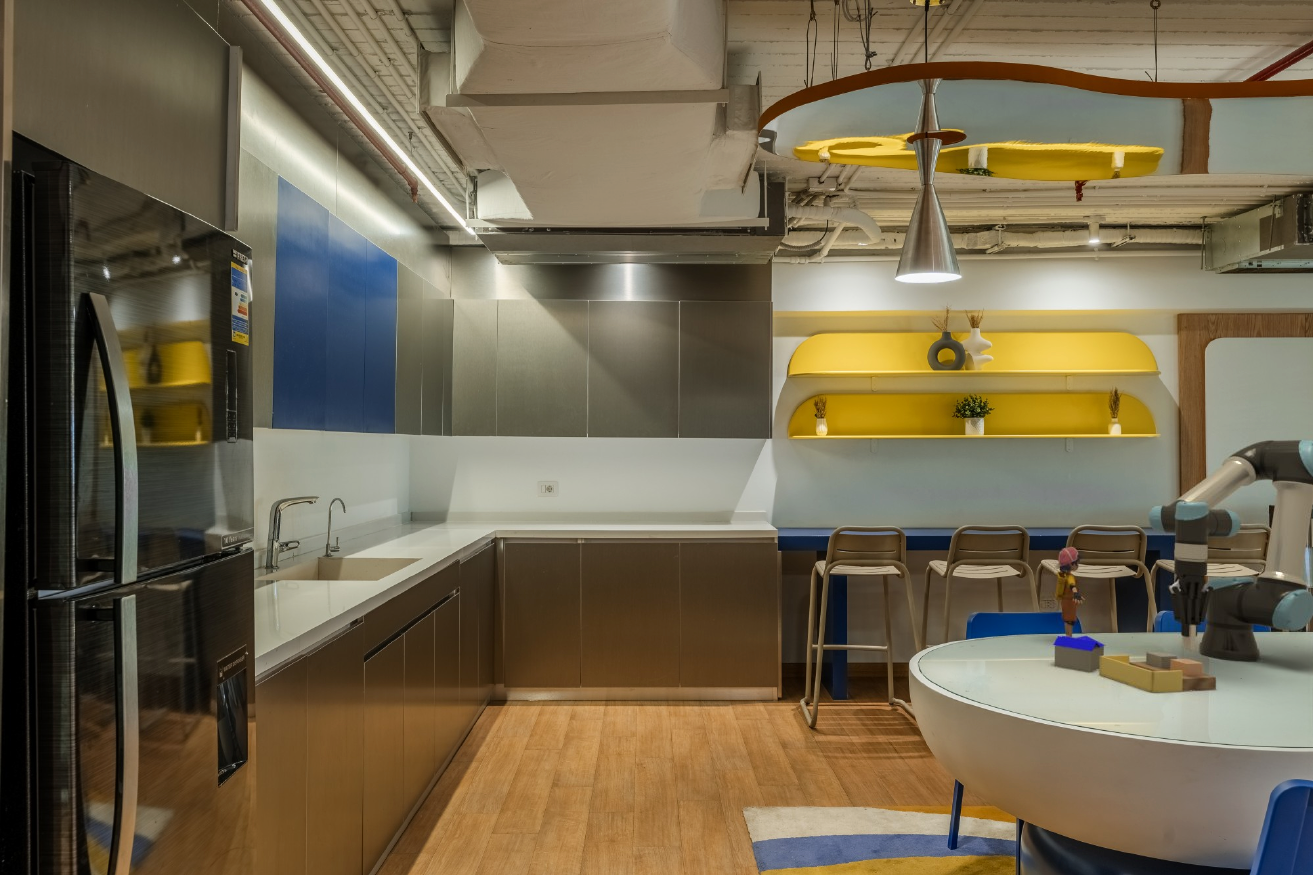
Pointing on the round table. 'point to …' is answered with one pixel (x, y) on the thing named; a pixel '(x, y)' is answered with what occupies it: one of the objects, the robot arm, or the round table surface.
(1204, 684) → the walnut board
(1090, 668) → the house
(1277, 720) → the round table surface
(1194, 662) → the peach block
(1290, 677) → the round table surface
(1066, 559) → the toy
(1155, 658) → the grey square block
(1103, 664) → the yellow tray
